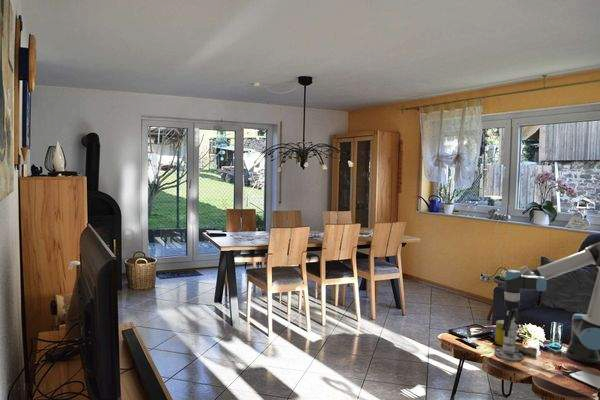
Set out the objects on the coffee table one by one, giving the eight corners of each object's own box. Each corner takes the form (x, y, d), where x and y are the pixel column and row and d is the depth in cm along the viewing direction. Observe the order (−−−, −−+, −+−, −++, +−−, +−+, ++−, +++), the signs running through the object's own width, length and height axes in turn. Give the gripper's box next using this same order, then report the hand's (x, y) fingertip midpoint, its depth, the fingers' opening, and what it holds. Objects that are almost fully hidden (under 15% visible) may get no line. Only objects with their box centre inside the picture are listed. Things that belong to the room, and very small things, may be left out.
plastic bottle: (514, 356, 245) (517, 319, 243) (501, 353, 248) (503, 316, 247) (516, 353, 250) (519, 316, 249) (503, 350, 254) (505, 313, 252)
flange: (526, 355, 250) (526, 352, 250) (518, 363, 239) (519, 359, 239) (499, 348, 259) (499, 345, 259) (490, 355, 248) (491, 352, 248)
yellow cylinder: (512, 347, 262) (513, 326, 261) (495, 344, 266) (496, 323, 265) (511, 341, 270) (512, 321, 270) (494, 339, 274) (496, 319, 273)
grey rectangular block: (536, 355, 251) (537, 347, 250) (534, 357, 247) (534, 349, 247) (516, 350, 257) (517, 342, 257) (514, 352, 254) (514, 344, 253)
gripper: (511, 293, 259) (509, 331, 260) (497, 303, 240) (495, 343, 241) (526, 296, 254) (524, 334, 256) (512, 305, 235) (510, 347, 236)
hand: (510, 339), depth 248 cm, fingers open, 13 cm apart
